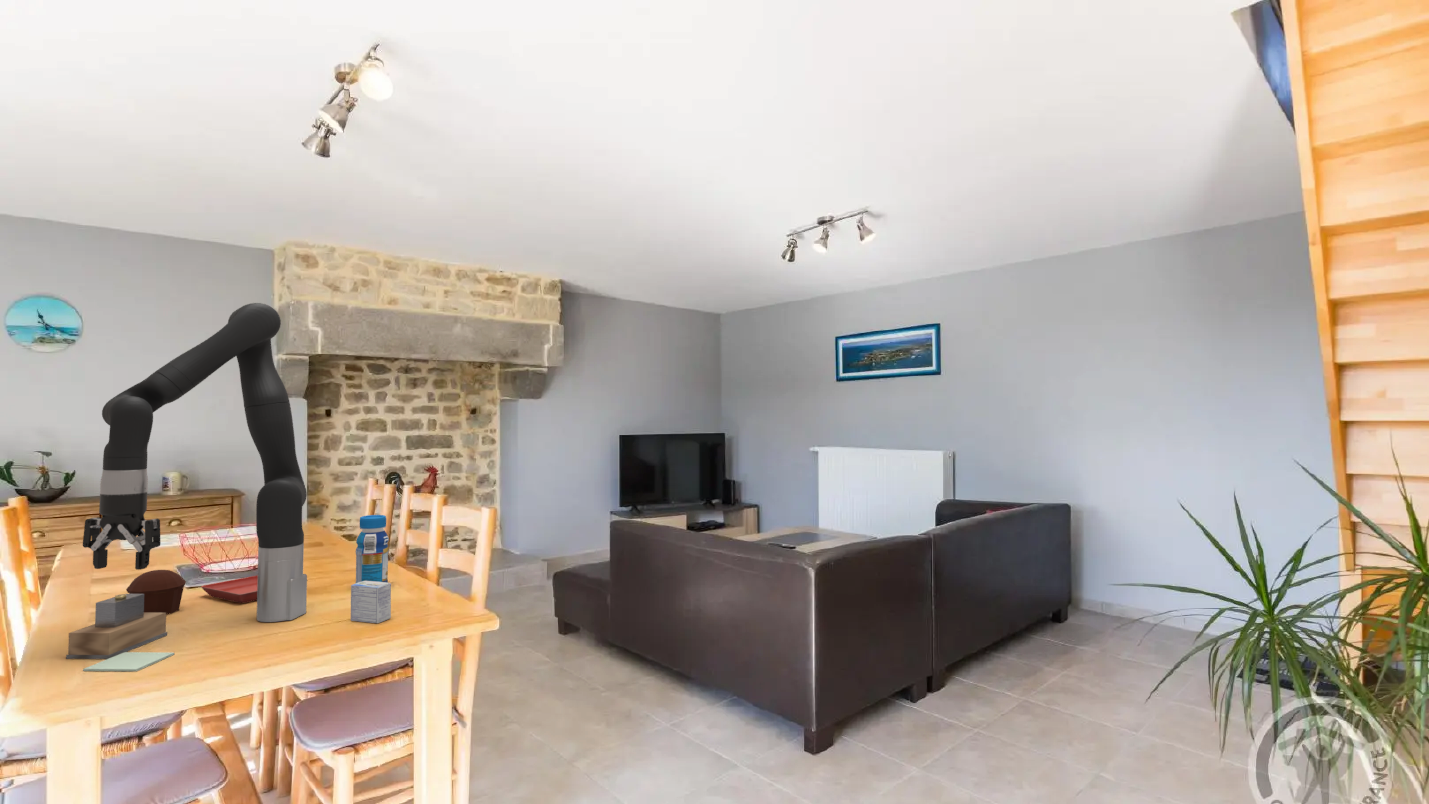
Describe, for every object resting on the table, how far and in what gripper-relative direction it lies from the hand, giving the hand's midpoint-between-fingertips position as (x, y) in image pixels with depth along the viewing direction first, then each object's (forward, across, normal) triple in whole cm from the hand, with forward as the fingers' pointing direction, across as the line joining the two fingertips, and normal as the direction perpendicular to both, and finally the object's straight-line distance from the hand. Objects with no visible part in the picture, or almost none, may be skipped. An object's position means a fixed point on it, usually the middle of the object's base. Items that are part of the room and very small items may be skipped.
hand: (120, 568), depth 141 cm
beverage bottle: (+16, -28, -49) cm, 59 cm away
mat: (+16, -10, +9) cm, 21 cm away
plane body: (+16, 0, 0) cm, 16 cm away
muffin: (+16, +12, -24) cm, 31 cm away
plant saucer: (+17, 0, -42) cm, 45 cm away
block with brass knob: (+11, 0, 0) cm, 11 cm away
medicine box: (+16, -43, -20) cm, 50 cm away
